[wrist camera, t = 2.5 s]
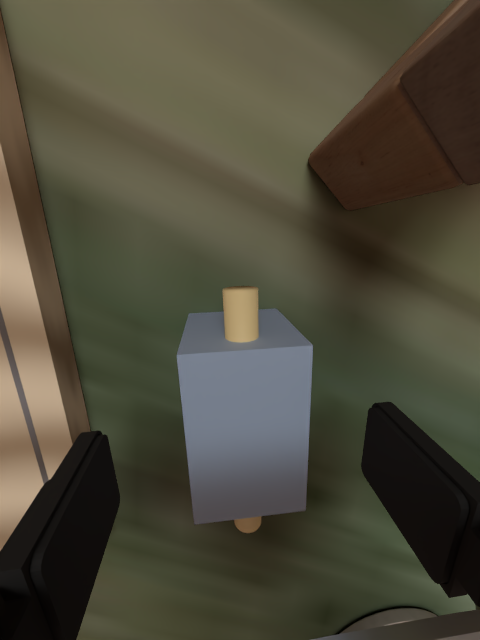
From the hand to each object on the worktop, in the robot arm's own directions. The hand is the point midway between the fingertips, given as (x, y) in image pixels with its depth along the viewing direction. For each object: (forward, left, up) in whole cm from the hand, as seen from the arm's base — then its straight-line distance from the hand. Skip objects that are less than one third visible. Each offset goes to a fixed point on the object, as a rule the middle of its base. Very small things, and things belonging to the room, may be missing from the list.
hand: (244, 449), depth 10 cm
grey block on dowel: (-1, 0, -7) cm, 7 cm away
